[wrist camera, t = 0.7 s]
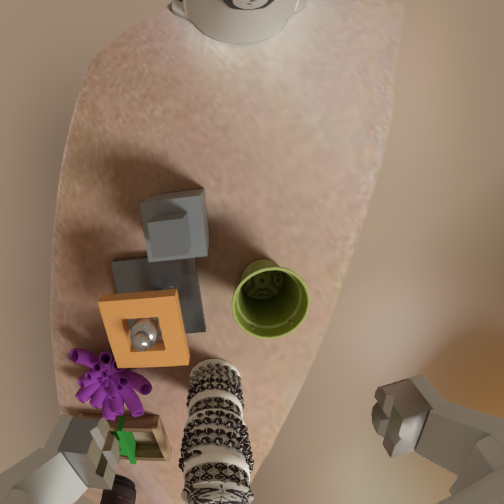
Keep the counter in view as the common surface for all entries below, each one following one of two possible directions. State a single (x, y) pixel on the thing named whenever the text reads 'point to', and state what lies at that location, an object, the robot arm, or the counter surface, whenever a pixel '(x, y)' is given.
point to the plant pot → (270, 300)
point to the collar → (145, 306)
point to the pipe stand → (160, 278)
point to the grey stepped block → (175, 225)
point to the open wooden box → (143, 425)
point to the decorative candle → (216, 438)
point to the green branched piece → (125, 441)
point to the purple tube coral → (109, 384)
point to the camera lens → (120, 492)
